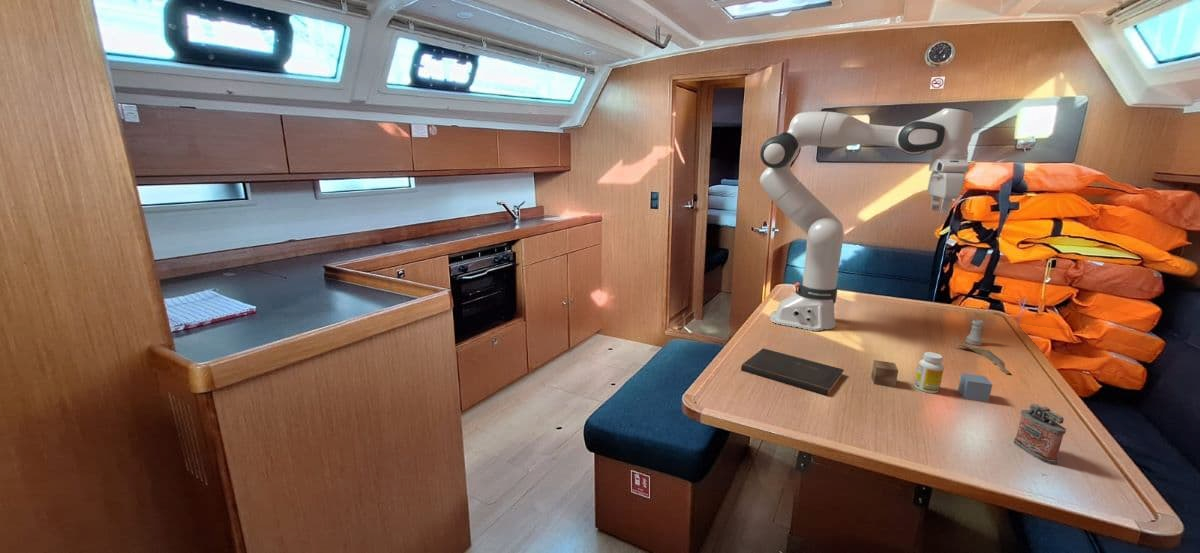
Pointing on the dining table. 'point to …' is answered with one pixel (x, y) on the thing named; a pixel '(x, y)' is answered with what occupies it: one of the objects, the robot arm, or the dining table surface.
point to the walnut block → (884, 373)
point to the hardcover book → (793, 371)
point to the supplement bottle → (929, 373)
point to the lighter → (1040, 433)
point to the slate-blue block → (975, 387)
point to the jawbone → (988, 356)
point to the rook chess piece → (975, 333)
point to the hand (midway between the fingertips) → (938, 212)
